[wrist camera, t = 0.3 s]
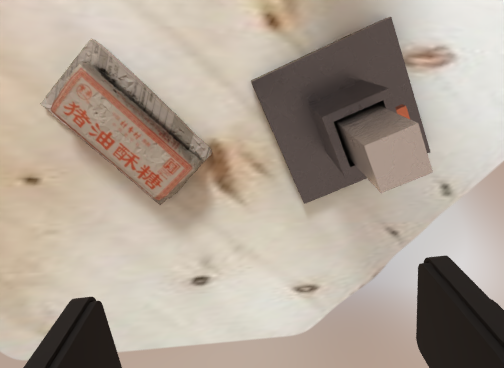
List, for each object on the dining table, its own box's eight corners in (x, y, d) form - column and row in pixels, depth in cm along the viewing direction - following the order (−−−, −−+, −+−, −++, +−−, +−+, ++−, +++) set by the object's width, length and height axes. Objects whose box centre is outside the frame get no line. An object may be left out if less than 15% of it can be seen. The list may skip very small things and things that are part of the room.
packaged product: (212, 160, 42) (153, 218, 44) (215, 148, 46) (162, 202, 48) (77, 36, 37) (20, 108, 39) (96, 36, 41) (44, 101, 44)
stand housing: (251, 80, 43) (252, 90, 33) (386, 18, 41) (427, 9, 31) (302, 199, 48) (316, 236, 39) (424, 148, 46) (470, 175, 36)
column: (320, 109, 42) (362, 145, 27) (356, 93, 42) (419, 121, 27) (333, 142, 44) (380, 194, 28) (368, 127, 43) (434, 172, 28)
